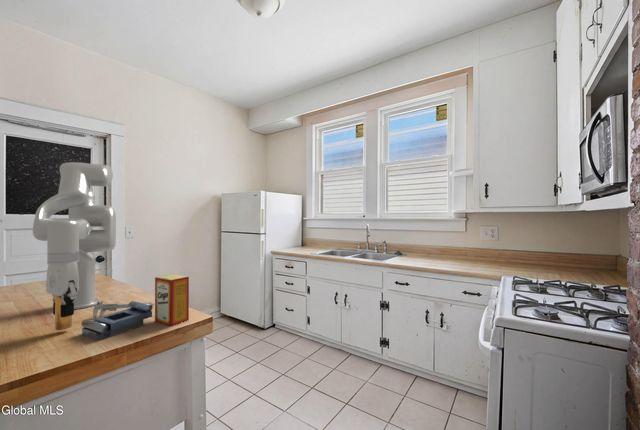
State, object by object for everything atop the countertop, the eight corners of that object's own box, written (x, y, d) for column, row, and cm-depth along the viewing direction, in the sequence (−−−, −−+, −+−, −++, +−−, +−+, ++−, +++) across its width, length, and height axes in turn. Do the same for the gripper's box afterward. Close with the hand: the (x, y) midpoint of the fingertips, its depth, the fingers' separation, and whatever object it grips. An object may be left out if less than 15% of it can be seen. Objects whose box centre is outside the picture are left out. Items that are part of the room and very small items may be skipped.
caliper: (94, 319, 101) (94, 302, 101) (93, 319, 102) (93, 301, 102) (154, 305, 117) (154, 290, 117) (153, 305, 118) (153, 290, 118)
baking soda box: (155, 321, 98) (155, 276, 99) (172, 315, 104) (172, 273, 104) (171, 326, 94) (171, 279, 94) (188, 320, 99) (188, 275, 100)
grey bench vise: (81, 334, 87) (81, 314, 87) (135, 317, 102) (135, 300, 102) (98, 340, 83) (98, 319, 83) (152, 322, 98) (152, 303, 98)
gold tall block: (52, 328, 88) (52, 291, 88) (68, 324, 92) (68, 288, 92) (58, 331, 87) (58, 292, 87) (74, 326, 90) (74, 289, 90)
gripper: (36, 257, 89) (36, 314, 90) (61, 262, 82) (61, 323, 82) (65, 254, 96) (65, 307, 96) (91, 258, 89) (91, 315, 89)
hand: (63, 314), depth 89 cm, fingers closed on gold tall block, 4 cm apart
